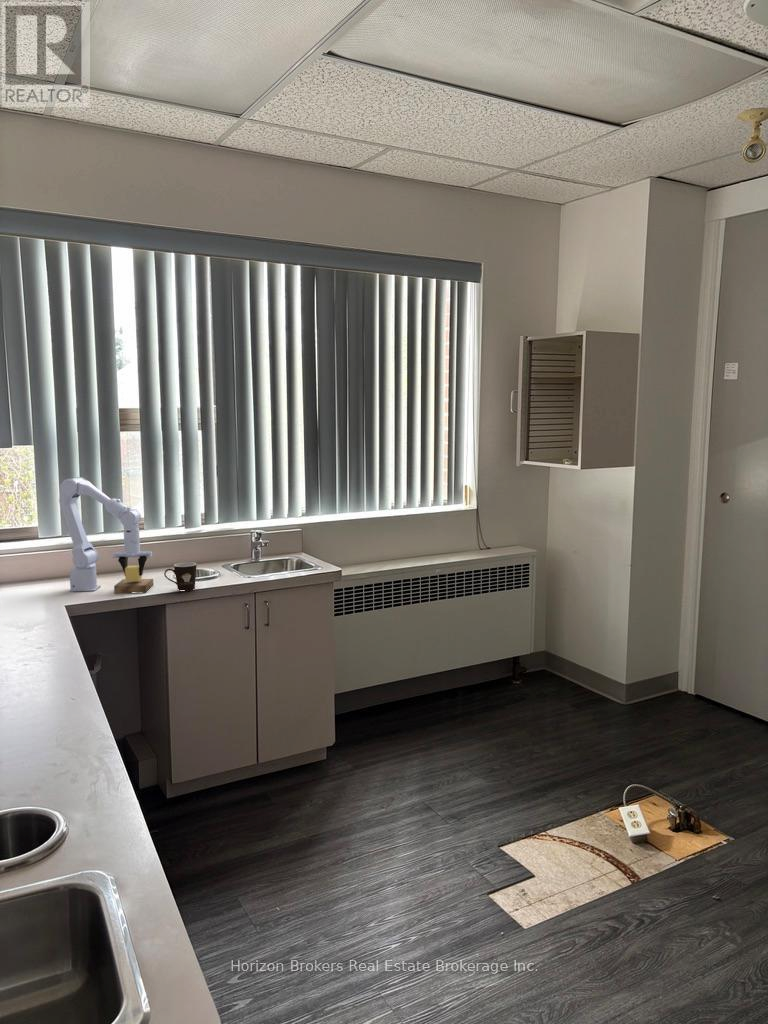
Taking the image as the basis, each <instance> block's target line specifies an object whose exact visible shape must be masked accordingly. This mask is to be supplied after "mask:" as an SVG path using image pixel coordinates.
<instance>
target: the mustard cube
mask: <svg viewBox="0 0 768 1024" xmlns="http://www.w3.org/2000/svg"><path fill="white" fill-rule="evenodd" d="M124 577H125V579H126V581H139V580H140V579H143V575H142V576H140V575H139V565H128V566H127V567H126V568H125V574H124Z"/></svg>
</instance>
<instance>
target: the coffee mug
mask: <svg viewBox="0 0 768 1024" xmlns="http://www.w3.org/2000/svg"><path fill="white" fill-rule="evenodd" d="M197 565H198V564H197V563H196V562H179V563H175V564H173V568H174V569H173V568H167V569H165V571H164V573H163V575H164V577H165V578H166V580H168V581H170V582H172V583H174V584H175V585H176V587H177V590H178V589H179V590H185V591H187V592H192V591H191V590H193V589H196V577H197ZM168 571H171V572H172V573H173V574H174V575H175V579H176V581H174V580H173V579H171V578H169V577H168V576H167V575H166V574H167V572H168ZM193 591H194V590H193Z"/></svg>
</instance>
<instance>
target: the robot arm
mask: <svg viewBox="0 0 768 1024" xmlns="http://www.w3.org/2000/svg"><path fill="white" fill-rule="evenodd" d="M59 491H60V493H59V499H58V503H59V506H60V509H61V512H62V515H63V518H64V520H65V524H66V526H67V529H68V532H69V535H70V536H69V537H70V538H71V541H72V545H73V546H72V549H71V553H72V563H73V565H74V567H71V569H70V570H69V585H70V587H69V588H70V589H69V592H94V591H96V590H98V589H100V588H101V585H98V581H97V579H98V578H97V565H96V563H97V562H98V559H99V553H98V551H97V550H96V549H95V548H94V546H93V544H92V543H91V542H89V540H88V537H87V534H86V531H85V529H84V525H83V523H82V518H81V517H80V514H79V511H78V508H77V504H76V502H77V501H78V499H79V498H80V497H81V495H82V496H89V497H90V498H92V499H93V500H96V501H97V502H99V503H100V504H101V505H103V506H104V507H105V511H107V512H108V513H110V515H112V516H114V517H115V518H117V519H118V520H120V523H121V524H122V526H123V540H124V541H123V542H124V543H123V545H124V551H115V552H113V553H112V558H113V559H116V558H118V559H117V561H118V562H119V564H120V566H121V568H122V571H123V574H124V575H125V568H126V567H127V566H129V565H128V562H129V561H128V558H137V560H138V566H139V575H140V576H142V577H143V574H144V568H145V564H146V562H147V559H148V558H152V557H153V551H146V550H145V551H143V550H141V544H140V543H141V542H140V541H141V540H140V539H141V538H140V526H139V525H140V524H139V523H140V521H141V519H142V516H141V513H140V512H139V510H137V509H133V508H131V507H130V506H127V505H125V503H123V502H122V500H121V499H120V498H114V497H113V498H110V497H109V496H107V494H105V493H104V492H103V491H101V490H100V488H97V487H96V486H95V485H93V484H92V482H90V481H89V480H87V479H86V478H85V477H82V476H78V477H75V478H66V479H64V480H63V481H62V482H61V484H60V486H59Z"/></svg>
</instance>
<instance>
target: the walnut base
mask: <svg viewBox="0 0 768 1024" xmlns="http://www.w3.org/2000/svg"><path fill="white" fill-rule="evenodd" d="M153 585H154V578H141V579H140V580H139V581H126V579H124V578H123V579H121V580H120V581H119V582H117V583H116V584H114V587H113V589H114V590H113V591H114V594H116V593H121V594H133V593H132V592H147V591H148V590H149V589H150V588H151V587H152V586H153ZM153 587H154V586H153ZM153 587H152V588H153ZM152 588H151V589H152ZM151 589H150V590H151ZM150 590H149V591H150ZM149 591H148V592H149ZM148 592H147V593H148Z"/></svg>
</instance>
